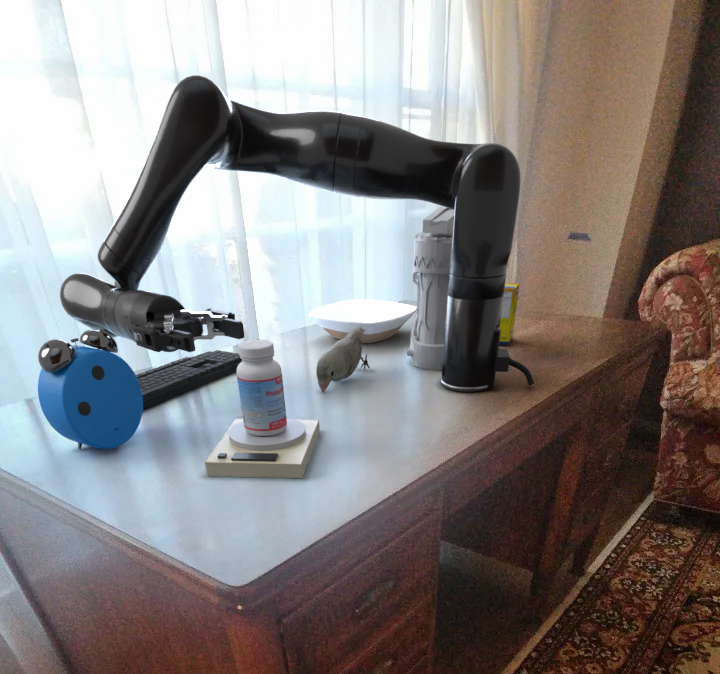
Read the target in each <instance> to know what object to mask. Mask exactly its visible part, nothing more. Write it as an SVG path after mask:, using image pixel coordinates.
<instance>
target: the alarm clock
mask: <svg viewBox="0 0 720 674" xmlns="http://www.w3.org/2000/svg"><path fill="white" fill-rule="evenodd" d="M70 342H71V343H74V344H75V345H72V344H70ZM70 342H68V341H66V340H65V339H61V338H54V339H53V338H52V339H50V340H47V341H46V342H44V344H42V345H41V347H40V348H39V350H38V354H37V359H38V363H39V366H40V369H41V370H40V373H39V376H38V380H37V381H38V382H37V396H38V397H37V398H38V402H39V405H40V408H41V411H42V413H43V416H44V417H45V419H46V421H47V423H49V425H50V426H51V427H52V428H53V430H55V432H57V433H58V434H59V435H61V436H62V437H64V438H65V439H68V440H70V441H72V442H75V443H77V448H78V450H82V446H83V445H85V446H89V447H91V448H96V449H99V450H100V449H101V450H110V449H111V450H112V449H117V448H119V447H120V446H123V445H125V444H126V443H127V442H128V441H129V440H130V439H131V438H132V437H133V436H134V435H135V433H136V432H137V430H138V428H139V426H140V424H141V420H142V417H143V412H144V410H143V397H142V391H141V387H140V384H139V381H138V379H137V377H136V375H137V374H136V373H135V371H134V370H133V368H132V367H131V366H130V365H129V363H128V362H126V361H125V360H124V359H123V358H122V357H121V356H119V355H118V353H119V347H118V343H117V342H116V340H115V338H112V337H111V336H110V335H109V334H107V333H105V332H102V329H100V328H99V330H94V329H87V330H85V331H83V332H82V333H81V335H80V337H79V338H78V337H76V338H72V339H70ZM77 342H79V343H80V344H83V345H77ZM84 345H85V346H84Z"/></svg>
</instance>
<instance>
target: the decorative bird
mask: <svg viewBox="0 0 720 674" xmlns="http://www.w3.org/2000/svg"><path fill="white" fill-rule="evenodd" d="M364 331H365V330H364V329H362V327H360V326H359V327H357V328H354V329H353V330H352V331H350V332H349V333H348V335H347V336H346V337H345V338H343V339H341V340H340V339H338V340H337V341H336V342H334V344H332V345H331V347H330V349H329V350H327V351H325V352H324V353H323V354H321V356H320V357H319V358H318V361H317V364H316V370H315V371H316V379H317V384H318V387H319V389H320V391H321V392H322V393H324V392H325V391H326V390H327V388H328V387H329V386H330V384H331V382H332V381H333V382H340V381H344V380H345V379H348V378H350V377H351V376H352V375H353V374H354V372H355V371H356V369H357V368H358V365H359V363H360V360H361V362H363V363H362V364H361V365H360V369H362V368H363V370H364V371H366V367H367V368H368V369H371V367H370V366H369V363H368V353H367V354H366V355H365V358H364V357H363V356H362V355H363V343H362V340H361V339H360V337H361V336H362V334H363V333H364Z"/></svg>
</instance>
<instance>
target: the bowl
mask: <svg viewBox="0 0 720 674" xmlns="http://www.w3.org/2000/svg"><path fill="white" fill-rule="evenodd" d="M416 313H417V305H412V304H407V303H402V302H395V301H387V300H380V299H379V300H378V299H365V298H363V299H362V298H361V299H360V298H353V299H347V300H342V301H337V302H333V303H330V304H325V305H323V306H319V307H317V308H315V309H312V310H311V311H309V312H308V314H307V315H308V316H309V318H311V319H312V320H313V321H314V322H315V323H316V324H317V325H318V326H319V327H321V328H322V329H323V330H324V331H325V332H326V333H327V334H329V335H330V337H331V338H333V339H335V340H341V339H343V338H345V337H346V336H347V335H348V333H349V332H350V331H352V330H353V329H354V328H357V327H359V326H360V327H362V329H364V330H365V331H364V333H363V334H362V336H361V337H360V339H361V340H362V344H373V343H377V342H380V341H384V340H387V339H388V338H389V339H390V338H391V337H392V336H394V335H395V334H396V333H397V332H398V331H399V330H400V329H401V328H402V326H404V325H405V324H406V323H407V322H408V321H409V320H410V319H411V317H412V316H414V314H416Z"/></svg>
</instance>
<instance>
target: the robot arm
mask: <svg viewBox="0 0 720 674" xmlns="http://www.w3.org/2000/svg"><path fill="white" fill-rule="evenodd" d="M204 168H205V169H208V170H212V171H223V172H224V171H226V172H243V173H244V172H246V173H256V174H265V175H271V176H276V177H278V178H279V177H280V178H283V179H285V180H288V181H291V182H295V183H298V184H301V185H304V186H308V187H310V188H311V187H312V188H316V189H320V190H323V191H326V192H330V193H336V194H341V195H346V196H350V197H357V198H363V199H371V200H373V199H374V200H415V201H422V202H427V203H431V204H434V205H438V206H440V207H442V206H444V207H447V208H450V209H453V210H455V213H454V227H453V240H452V248H451V255H450V267H449V282H448V296H447V310H446V324H445V338H444V352H443V366H442V368H441V369H440V373H441V378H440V385H441V386H442V387H443V388H445V389H447V390H450V391H455V392H462V393H477V392H482V391H483V392H484V391H486V390H494V387H495V381H496V373H508V372H509V367H510V366H511V367H513V368H515V369H517V370H519V372H521V373H522V374H523V375H524V376H525V379H526V381H527V384H528V387H532V386H533V385H534V384H535V381H534V378H533V376H532V373H531V371H530V370H529V369H528V367H526V365H524V364H523V363H521V362H519V361H516V360H514V359H512V358H511V356H510V353H509V351H508V349H507V348H500V345H499V343H500V335H501V330H500V320H501V312H502V305H503V297H504V289H505V283H506V279H507V272H508V266H509V265H508V264H509V259H510V256H511V254H512V253H511V252H512V249H513V243H514V236H515V228H516V222H517V215H518V208H519V202H520V194H521V184H522V183H521V182H522V181H521V180H522V176H521V168H520V164H519V161H518V159H517V157H516V156H515V154H514V153H513V152H512V150H511V149H509V147H507V146H505V145H503V144H500V143H496V142H485V143H464V142H463V143H462V142H450V141H441V140H434V139H430V138H426V137H423V136H421V135H418V134H415V133H413V132H410V131H408V130H407V129H406V130H405V129H403V128H401V127H398V126H395V125H393V124H390V123H387V122H385V121H380V120H378V119H376V118H375V119H374V118H371V117H368V116H363V115H358V114H353V113H349V112H342V111H337V110H328V109H315V110H304V111H303V110H302V111H295V112H272V111H268V110H263V109H260V108H256V107H252V106H249V105H246V104H243V103H240V102H238V101H235V100H232V99H230V98H229V97H227V96H226V94H225V93H224V91H223V90H222V89H221V88H220V87H219V86H218V85H217V84H216V83H215V82H214V81H213V80H211V79H210V78H208V77H206V76H202V75H198V74H197V75H196V74H195V75H189V76H185V78H183V79H182V80H180V81H179V82H178V83H177V84H176V86H175V87H174V89H173V90H172V93H171V94H170V97H169V100H168V102H167V104H166V107H165V109H164V113H163V116H162V118H161V121H160V123H159V127H158V129H157V133H156V135H155V138H154V141H153V144H152V146H151V148H150V151H149V153H148V155H147V158H146V160H145V162H144V165H143V167H142V169H141V172H140V174H139V176H138V178H137V181H136V183H135V185H134V186H133V188H132V190H131V192H130V195H129V196H128V198H127V200H126V202H125V204H124V206H123V208H122V209H121V211H120V212H119V214H118V216H117V217H116V218H115V221H114V222H113V224H112V226H111V228H110V230H109V231H108V233H107V234H106V236H105V238H104V240H103V241H102V243H101V246H100V247H99V248H98V252H97V260H98V263H99V265H100V266H101V267H102V269H103V270H104V271H105V272H106V273H107V274H108V275H109V276H110V277H111V278H112V279H113V280H114V285H113V284H111V283H109V282H108V281H105V280H103V279H101V278H99V277H96V276H94V275H91V274H88V273H85V272H77V273H73V274H71V275H69V276H68V277H66V278H65V279H64V280H63V282H62V284H61V286H60V289H59V299H60V303H61V307H62V308H63V309H64V311H65V313H66V314H67V315H68V316H69V317H70V318H72V319H73V320H75V321H77V322H78V323H81V324H82V325H84V326H86V327H88V328H90V330H92V329H94V330H99V328H100V329H102V332H105V333H107V334H109V335H110V336H111V337H112V338H113V339H115V338H117V337H120V338H122V339H126V340H129V341H132V342H134V343H136V346H139V347H141V348H144V349H147V350H150V351H152V352H155V353H156V352H157V353H160V352H165V353H173V352H176V351H178V350H181V351H184V352H188V353H192V352H195V351H196V345H195V344H196V343H195V341H197V340H213V339H214V338H215V337H217V336H218V337H221V336H222V337H223V336H224V337H228V338H233V339H236V340H242V339H244V338H245V328H244V323H243V322H242V321H241V320H236V315H235V314H236V313H235V312H232V311H225V310H221V309H213V308H211V307H208V308H206V309H204V311H194V310H193V309H186V308H185V307H184V305H183V304H182V303H181V302H180V301H179V300H178V299H177V298H175V297H173V296H172V295H168V294H163V293H158V292H154V291H148V290H143V289H140V287H141V284H142V281H143V279H144V278H145V276H146V275H147V273H148V271H149V270H150V268H151V267H152V265H153V263H154V262H155V261H156V259H157V258H158V256H159V254H160V252H161V250H162V248H163V246H164V244H165V241H166V239H167V236H168V233H169V231H170V228H171V225H172V222H173V219H174V216H175V214H176V211H177V209H178V206H179V204H180V201H182V198H183V196H184V194H185V193H186V191H187V189H188V188H189V186H190V185H191V184H192V183H193V181H194V179H195V178H196V177H197V176H198V175H199V173H200V172H201V171H202V170H203V169H204ZM204 325H206V330H207V333H204Z"/></svg>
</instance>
